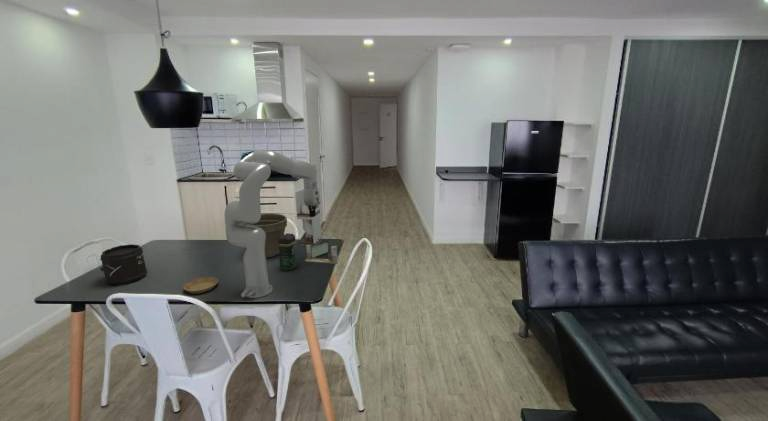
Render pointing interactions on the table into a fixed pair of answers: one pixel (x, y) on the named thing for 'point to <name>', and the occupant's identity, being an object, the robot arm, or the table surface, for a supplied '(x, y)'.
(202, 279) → the plant saucer
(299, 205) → the display case
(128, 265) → the black round bag
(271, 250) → the plant pot
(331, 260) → the gate frame
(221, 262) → the table surface
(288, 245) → the coffee jar
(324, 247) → the gate
